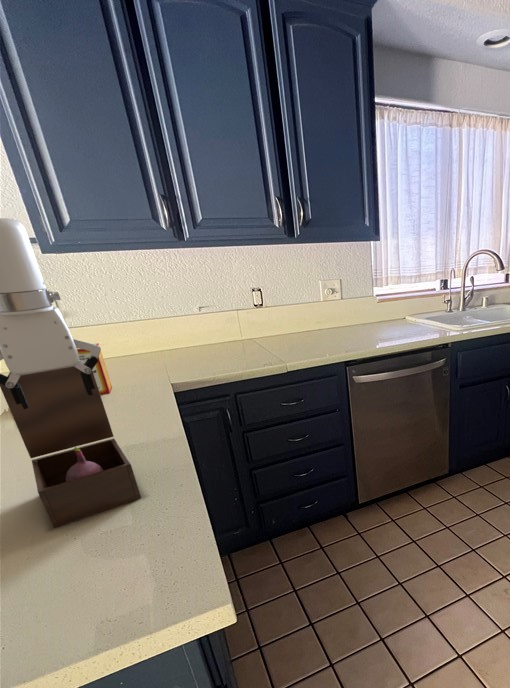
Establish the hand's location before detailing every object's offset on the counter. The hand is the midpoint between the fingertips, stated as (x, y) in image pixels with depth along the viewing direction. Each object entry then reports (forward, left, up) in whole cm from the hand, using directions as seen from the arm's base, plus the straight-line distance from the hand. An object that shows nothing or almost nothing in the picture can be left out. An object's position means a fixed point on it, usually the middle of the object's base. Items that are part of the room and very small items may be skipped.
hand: (59, 400), depth 77 cm
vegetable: (0, +1, -21) cm, 21 cm away
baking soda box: (+36, +66, -21) cm, 79 cm away
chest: (0, +1, -21) cm, 21 cm away
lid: (+3, +8, -5) cm, 10 cm away
